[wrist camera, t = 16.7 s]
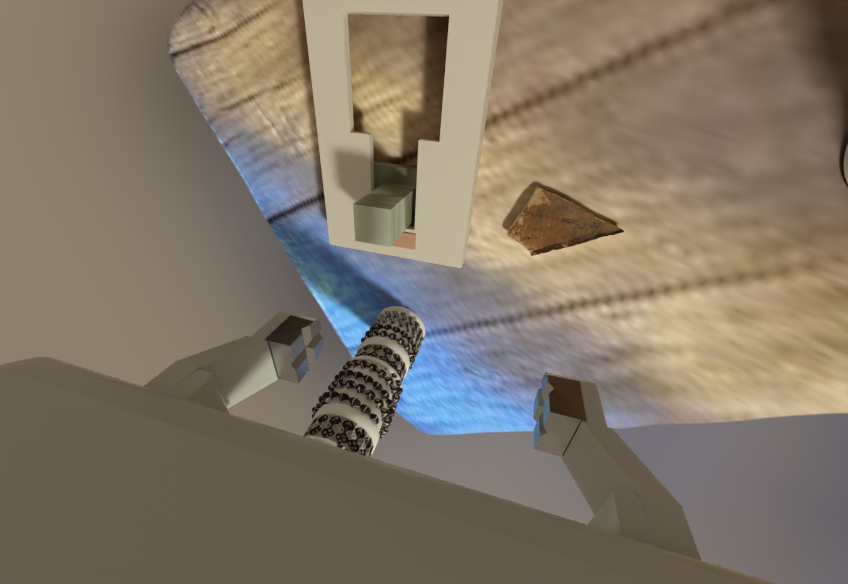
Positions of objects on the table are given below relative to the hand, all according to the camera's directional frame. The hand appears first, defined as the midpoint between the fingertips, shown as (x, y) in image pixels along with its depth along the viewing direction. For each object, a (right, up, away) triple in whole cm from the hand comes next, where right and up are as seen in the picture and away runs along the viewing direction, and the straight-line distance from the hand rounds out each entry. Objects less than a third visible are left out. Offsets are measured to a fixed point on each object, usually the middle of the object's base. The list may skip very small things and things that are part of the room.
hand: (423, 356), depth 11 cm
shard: (+16, +12, +27) cm, 33 cm away
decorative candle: (-4, -3, +42) cm, 42 cm away
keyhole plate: (-2, +20, +26) cm, 33 cm away
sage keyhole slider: (-3, +15, +30) cm, 33 cm away
